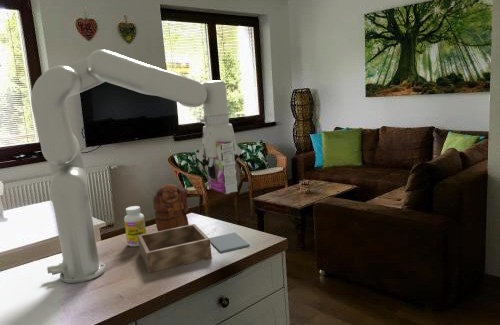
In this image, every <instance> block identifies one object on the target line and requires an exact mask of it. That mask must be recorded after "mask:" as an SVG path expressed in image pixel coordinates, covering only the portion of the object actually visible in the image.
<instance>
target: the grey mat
mask: <svg viewBox="0 0 500 325" xmlns="http://www.w3.org/2000/svg"><path fill="white" fill-rule="evenodd" d="M208 238H209V239H210V245H212V246H213V247H214V248H215V249H216V250H217V251H218V252H219V253H220V254H221V253H222V254H223V253H225V252H230V251H234V250H238V249H239V250H240V249H242V248H246V247H250V243H249V242H248V241H246V240H245V239H244V238H242V237H241V235H239V234H238V233H236V232H232V233H227V234H226V233H225V234H222V235H217V236H212V237H208Z"/></svg>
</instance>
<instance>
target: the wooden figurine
mask: <svg viewBox="0 0 500 325" xmlns="http://www.w3.org/2000/svg"><path fill="white" fill-rule="evenodd" d="M152 199H153V209H154V210H155V213H154V218H155V225H156V228H157V229H156V230H157V231H162V230H167V229H172V228H177V227H182V226H186V225H190V224H189V220H188V219H189V218H188V216H187V214H189V204H188V197H187V192H186V191H185V190H183V189H181V188H180V187H178V186H177V185H176V184H174V183H168V184H163V185H162V186H160V187H159V188H158V189H157V191H156V194H155V195H154V196H153V197H152Z"/></svg>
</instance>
